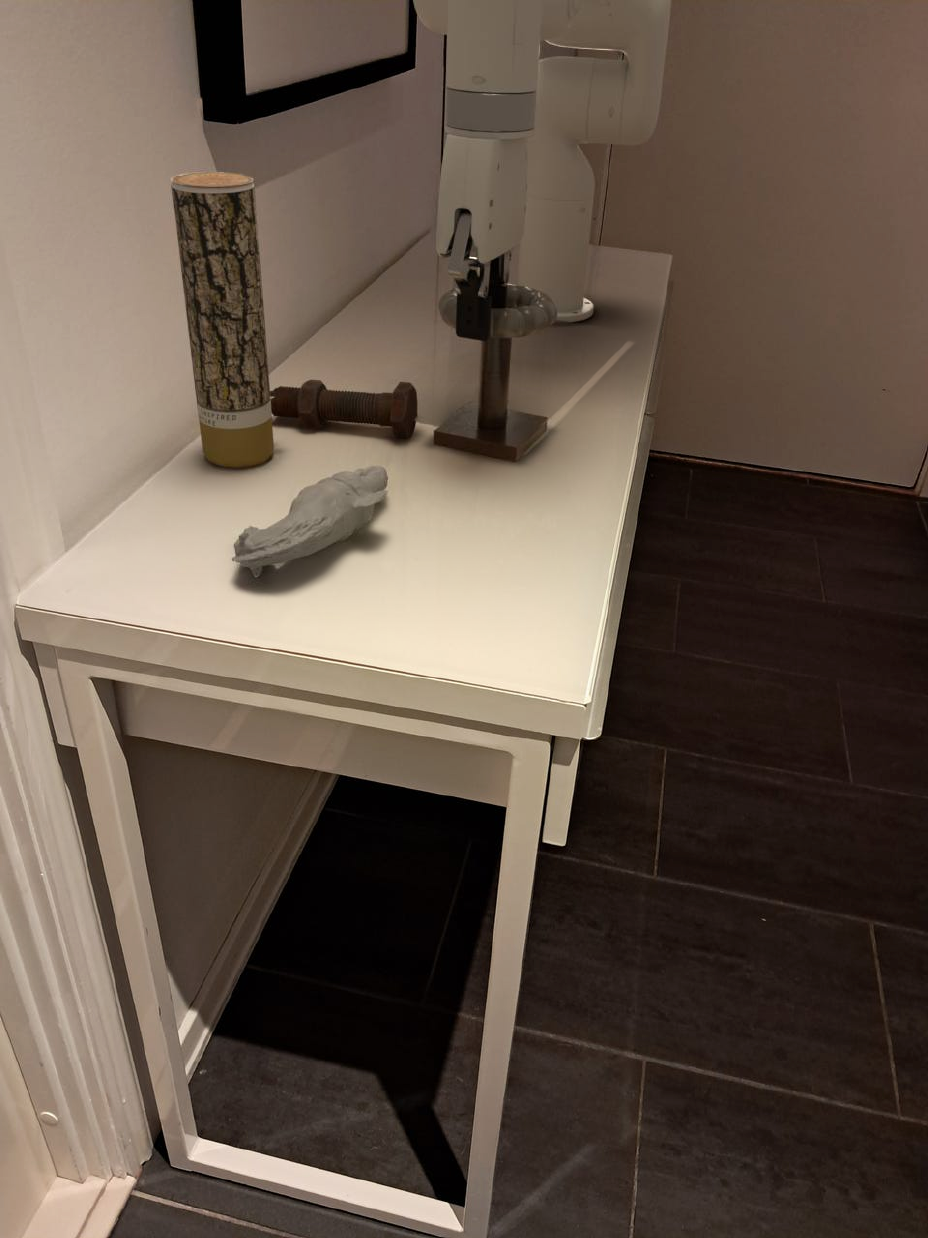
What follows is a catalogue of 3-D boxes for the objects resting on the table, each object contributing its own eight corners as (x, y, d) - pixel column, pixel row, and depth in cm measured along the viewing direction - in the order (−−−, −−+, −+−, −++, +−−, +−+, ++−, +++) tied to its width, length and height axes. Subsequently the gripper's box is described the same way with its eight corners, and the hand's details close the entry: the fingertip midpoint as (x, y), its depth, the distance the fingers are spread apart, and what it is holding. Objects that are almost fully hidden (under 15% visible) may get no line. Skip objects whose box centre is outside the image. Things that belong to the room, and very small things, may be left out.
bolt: (278, 432, 106) (414, 443, 104) (260, 425, 101) (403, 436, 99) (282, 377, 106) (420, 387, 103) (265, 367, 101) (409, 377, 98)
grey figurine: (287, 465, 92) (200, 537, 75) (402, 435, 89) (340, 503, 72) (306, 516, 94) (225, 598, 76) (419, 489, 91) (363, 568, 73)
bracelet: (467, 300, 102) (468, 274, 101) (570, 316, 99) (572, 290, 97) (419, 328, 94) (419, 301, 92) (530, 348, 90) (532, 319, 89)
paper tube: (259, 474, 93) (235, 189, 80) (191, 465, 94) (156, 182, 81) (284, 446, 99) (265, 175, 85) (220, 438, 100) (191, 169, 86)
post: (468, 414, 108) (473, 298, 101) (546, 430, 105) (557, 311, 98) (433, 444, 101) (435, 321, 94) (516, 461, 98) (524, 336, 91)
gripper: (486, 100, 90) (477, 304, 100) (406, 120, 78) (405, 351, 88) (564, 107, 88) (547, 315, 98) (494, 129, 75) (483, 365, 85)
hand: (480, 330), depth 93 cm, fingers closed on bracelet, 3 cm apart
